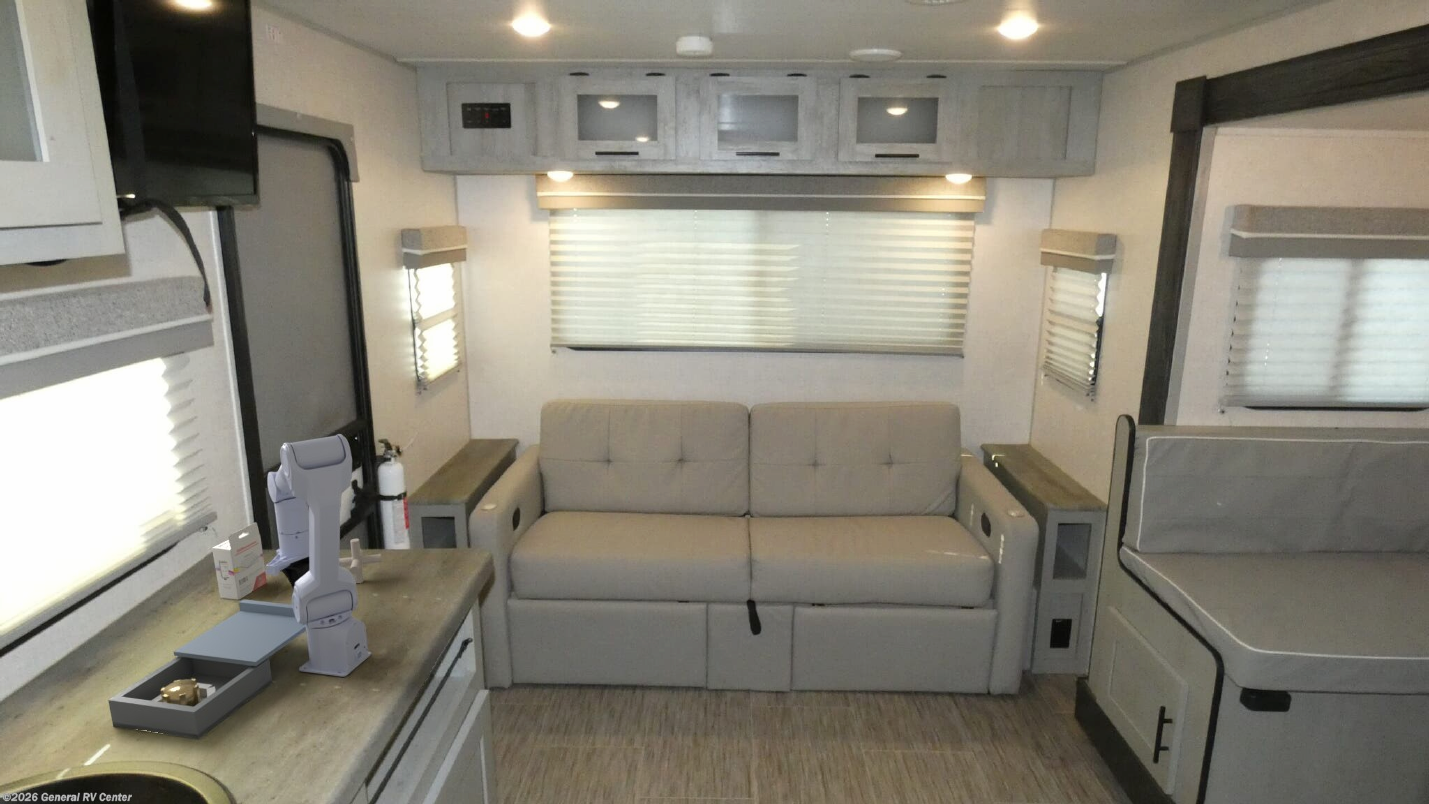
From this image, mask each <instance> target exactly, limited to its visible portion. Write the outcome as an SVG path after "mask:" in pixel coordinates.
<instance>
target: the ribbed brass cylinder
mask: <svg viewBox="0 0 1429 804" xmlns="http://www.w3.org/2000/svg"><path fill="white" fill-rule="evenodd" d="M160 691H161V697H162V702H163V703H170V704H177V705H185V706H192V707H194V706H196V705H197V704H198V703H200V702H201V698H200V692H199V685H197V682H196V679H191V680H190V679H186V680H177V681H174V682H173V683H171V684H169V685H168V686H166V687H165V688H162V689H161V690H160Z"/></svg>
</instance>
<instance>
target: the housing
mask: <svg viewBox="0 0 1429 804" xmlns="http://www.w3.org/2000/svg"><path fill="white" fill-rule="evenodd" d="M272 678H273V677H272V671H271V663H270V657H268V658H267V659H266V660H264V661H263V662H261V663H260V664H259V665H257V666H250V665H243V664H235V663H227V662H219V661H211V660H203V659H196V658H188V657H180V656H175V658H173V659H171V660H170V661H167V663H165V664H163V665H162V666H160V667H158V668H157V669H155V670H154V671H153V672H151V673H149V674H148V675H146V676H145V677H143V678H141V679H139V680H138V681H137V682H135V683H133V684H132V685H130V686H128V687H126V688H125V689H124V690H122V691H121V692H119V693H117V694H115V695H114V696H112V697H111V698H109V699H108V700H107V701H108V706H109V712H110V716H111V722H112V723H111V724H112V726H113V727H114V728H121V729H126V728H127V730H132V729H138V730H137V731H139V730H147V731H151V732H150V733H152V732H158V733H157V734H159V733H163V734H162V735H167V736H172V735H173V736H172V737H181V738H186V739H194V740H199V739H201V738H202V737H204V736H206V735H207V734H208V733H209V732H211V730H213V729H214V728H215V727H218V725H219V724H221V723H222V722H224V721H225V720H226V719H228V718H229V717H230V716H231V715H233V714H234V713H235V712H236V711H238V710H240V709H241V708H242V707H243V706H244V705H246V704H247V703H249V702H250V701H251V700H253V698H255V697H257V696H258V695H259V694H260V693H261V692H262V691H264V690H265V689H267V688H268V687H270V686H271V685H272V684H273V679H272ZM186 679H190V680H191V679H196V682H197V685H199V692H200V698H201V702H200V703H198V704H197V705H196V706H194V707H192V706H185V705H177V704H170V703H163V702H162V697H161V691H160V690H161V689H162V688H165V687H166V686H168V685H169V684H171V683H173V682H174V681H177V680H186Z"/></svg>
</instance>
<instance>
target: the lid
mask: <svg viewBox="0 0 1429 804" xmlns="http://www.w3.org/2000/svg"><path fill="white" fill-rule="evenodd" d="M238 605H239V606H238V607H239V611H237V612H236V613H234V614H233V615H231V616H229V617H228V618H225V620H222V621H221V622H220V623H218V624H216V625H214V626H213V627H211V628H210V629H208V630H206V631H204V632H203V633H201V634H200V635H198V636H197V637H195V638H192V639H191V640H190V641H188V642H187V643H185V644H184V645H182V646H181V647H178V648H177V649H175V650H174V651H173V656H175V657H178V656H180V657H188V658H196V659H203V660H211V661H219V662H227V663H235V664H243V665H250V666H257V665H259V664H260V663H261V662H263V661H264V660H266V659H267V658H270V657H271V656H273V655H274V654H275V653H277V652H278V651H279V650H281V649H282V648H284V647H285V646H287V645H288V644H289V643H290V642H292V641H294V640H295V639H296V638H299V636H300V635H302V634H303V633H304V632H306V625H302V624H300V623H298V621H297V620H296V617H295V614H294V610H293V605H292V604H290V603H279V602H271V601H270V602H269V601H261V600H252V599H243V598H242V600H241V601H238Z"/></svg>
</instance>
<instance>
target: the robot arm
mask: <svg viewBox="0 0 1429 804" xmlns="http://www.w3.org/2000/svg"><path fill="white" fill-rule="evenodd" d="M279 456H280V463H281V464H280V466H279V469H278V470H277V471H269V472H268V474H267V480H266V481H267V490H268V493H269V496H270V499H271V501H272V502H273V506H274V512H275V521H276V527H277V528H276V530H277V537H278V545H279V548H278V549H276V555H275V557H274V558H273V559H272V560H271V561H269V563H267V564H266V565H265V573H266V576H267V575H268V576H278V575H279V574H280V571H281V572H282V573H283V574H284V576H285V578H287V580H288V581H289V584H290V585H291V587H292V590H293V592H292V595H291V605H293V610H294V614H295V617H296V620H297V621H298V623H300V624H302V625H306V631H305V632H306V640H307V641H306V642H307V649H308V657H309V660H308V661H306V662H305V663H304V664H302V665H301V666H300V667H299V668H298V670H299V672H305V673H311V674H319V675H325V676H326V675H327V676H328V675H329V676H335V677H343V678H344V677H347V676H348V675H349V674H350V673H352V672H354V670H355V669H356V668H358V666H360V665H361V664H362V663H363V662H364V661H365V660H366V659H368V658H369V657H370V656H371V655H372V652H371V651H369V648H368V646H369V645H368V638H367V636H368V635H367V628H366V624H365V623H364V622H363V621H362V620H361V619H357V618H355V617H353V614H352V613H353V612H352V611H355V610H356V609H357V606H358V603H359V597H358V592H357V584H356V582H355V579H354V574H351V572H350V569H348V568H346V567H345V566H342V567H341V566H339V559H340V545H341V544H340V542H341V540H340V538H341V536H340V535H341V505H342V495H343V493H344V492H345V491H346V490H347V489H349V487H351V486H352V484H351V483H352V481H351V480H352V477H353V475H352V473H353V457H352V451H351V447H350V444H349V442H348V439H347V438H346V437H345V436H344V435H343V434H341V433H338V434H336V435H331V436H325V437H319V438H314V439H313V438H312V439H307V440H300V441H294V442H284V443H282V446H280V451H279Z"/></svg>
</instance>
